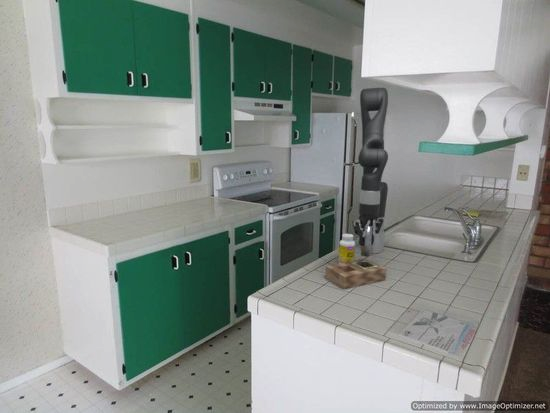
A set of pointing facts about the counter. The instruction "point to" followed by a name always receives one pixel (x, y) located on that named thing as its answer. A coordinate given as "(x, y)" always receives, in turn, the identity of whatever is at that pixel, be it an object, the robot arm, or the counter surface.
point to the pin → (367, 243)
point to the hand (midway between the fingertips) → (366, 244)
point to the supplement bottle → (346, 248)
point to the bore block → (355, 273)
